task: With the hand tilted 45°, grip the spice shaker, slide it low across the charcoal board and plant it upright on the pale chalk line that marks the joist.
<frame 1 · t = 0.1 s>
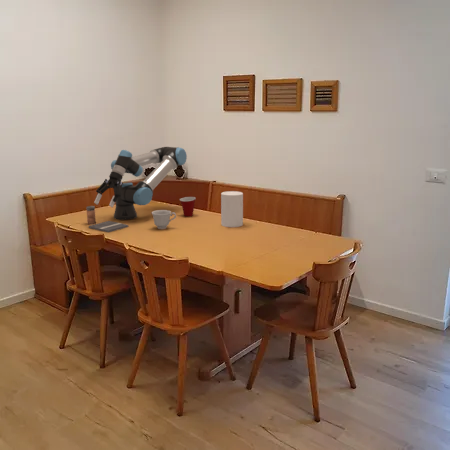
hand: (103, 205, 291), 15 cm above the table, tool tilted 35°, fingers open, 13 cm apart
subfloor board: (108, 227, 300), on the table
teacup: (164, 228, 299), on the table
plastic cup: (188, 215, 330), on the table
spice shaker: (91, 223, 310), on the table
canister: (232, 224, 306), on the table
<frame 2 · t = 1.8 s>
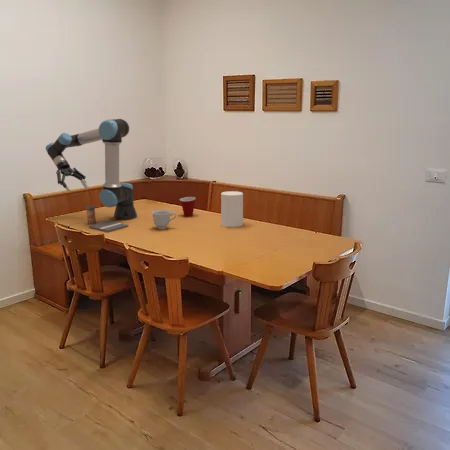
hand: (78, 189, 310), 21 cm above the table, tool tilted 45°, fingers open, 13 cm apart
nothing on the table moved.
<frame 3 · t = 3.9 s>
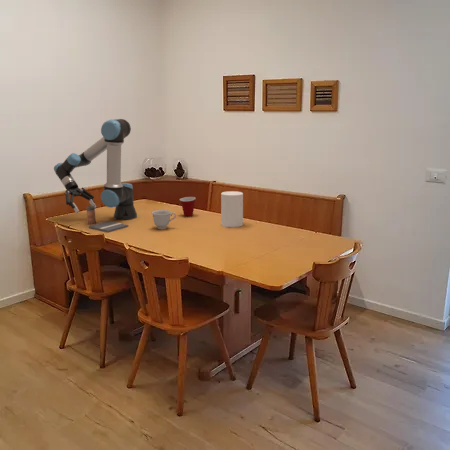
hand: (86, 210, 309), 9 cm above the table, tool tilted 45°, fingers open, 13 cm apart
nothing on the table moved.
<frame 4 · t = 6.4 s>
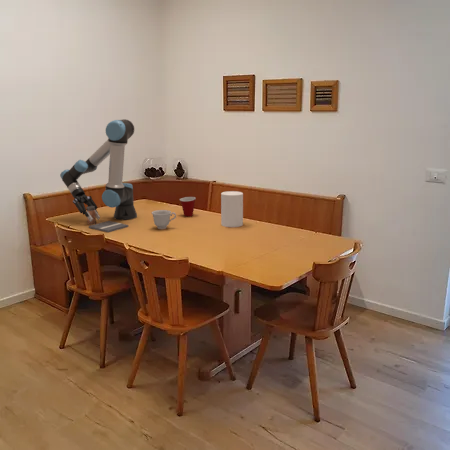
hand: (95, 219, 307), 3 cm above the table, tool tilted 45°, fingers closed on spice shaker, 5 cm apart
spice shaker: (91, 223, 310), on the table, touching gripper
everything else where it was.
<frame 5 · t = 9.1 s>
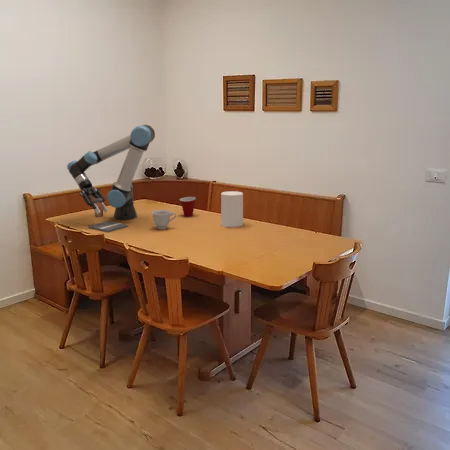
hand: (102, 212, 299), 10 cm above the table, tool tilted 45°, fingers closed on spice shaker, 5 cm apart
spice shaker: (99, 216, 302), point 6 cm above the table, touching gripper
everything else where it was.
when the fingers open (6 cm above the table, at t = 12.3 s): spice shaker drops 1 cm, resting on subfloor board.
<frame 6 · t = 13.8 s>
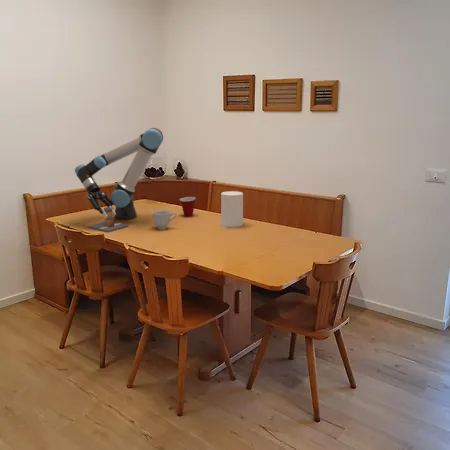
hand: (110, 216, 296), 8 cm above the table, tool tilted 45°, fingers open, 6 cm apart
spice shaker: (110, 225, 299), point 1 cm above the table, touching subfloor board
everything else where it was.
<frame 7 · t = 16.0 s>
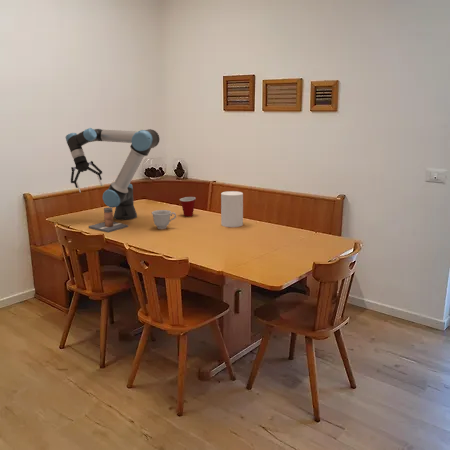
hand: (91, 188, 305), 22 cm above the table, tool tilted 25°, fingers open, 13 cm apart
nothing on the table moved.
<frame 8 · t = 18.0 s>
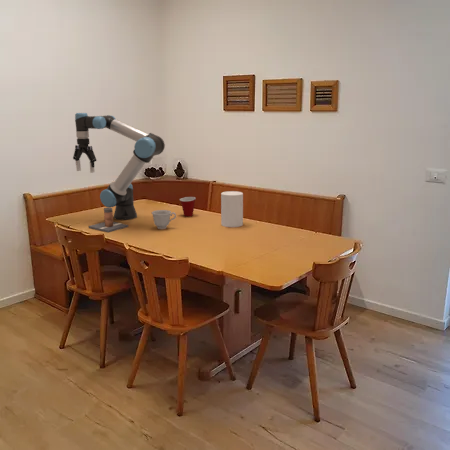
hand: (85, 171, 312), 32 cm above the table, tool pointing down, fingers open, 13 cm apart
nothing on the table moved.
at the end: spice shaker inside the target area (1.0 cm from its centre), point 1.3 cm above the table; spice shaker tilted 0°; the gripper is holding nothing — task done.
